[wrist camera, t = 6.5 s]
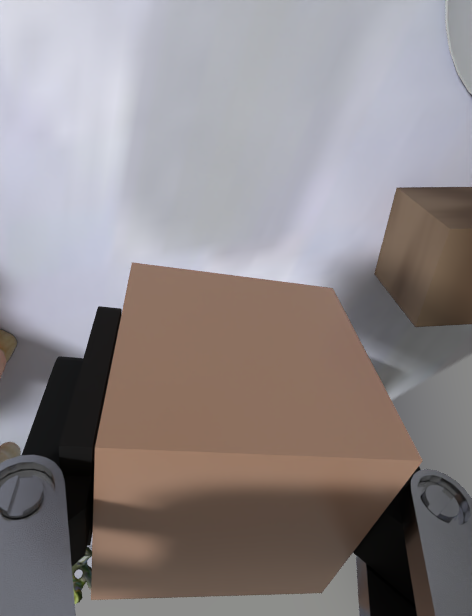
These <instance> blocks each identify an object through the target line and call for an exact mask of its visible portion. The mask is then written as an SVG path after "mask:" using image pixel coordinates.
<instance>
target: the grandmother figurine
mask: <svg viewBox="0 0 472 616" xmlns="http://www.w3.org/2000/svg"><path fill="white" fill-rule="evenodd" d="M16 345H17V341H16V339H15V337H14V336H13V335H11V334H9V333H7V332H5V331H3V330H0V378H1V376H2V373H3V371H4V368H5V365H6V363H7V362H8V360H9V359H10V357H11V355H12V353H13V351H14V349H15V348H16ZM20 452H21V451H20V448H19V446H18V445H17V444H15V443H13V442H7V443H4V444H2V445H1V446H0V463H2V462H4V461H5V460H7V459H11V458H14V457H17V456H20Z"/></svg>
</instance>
